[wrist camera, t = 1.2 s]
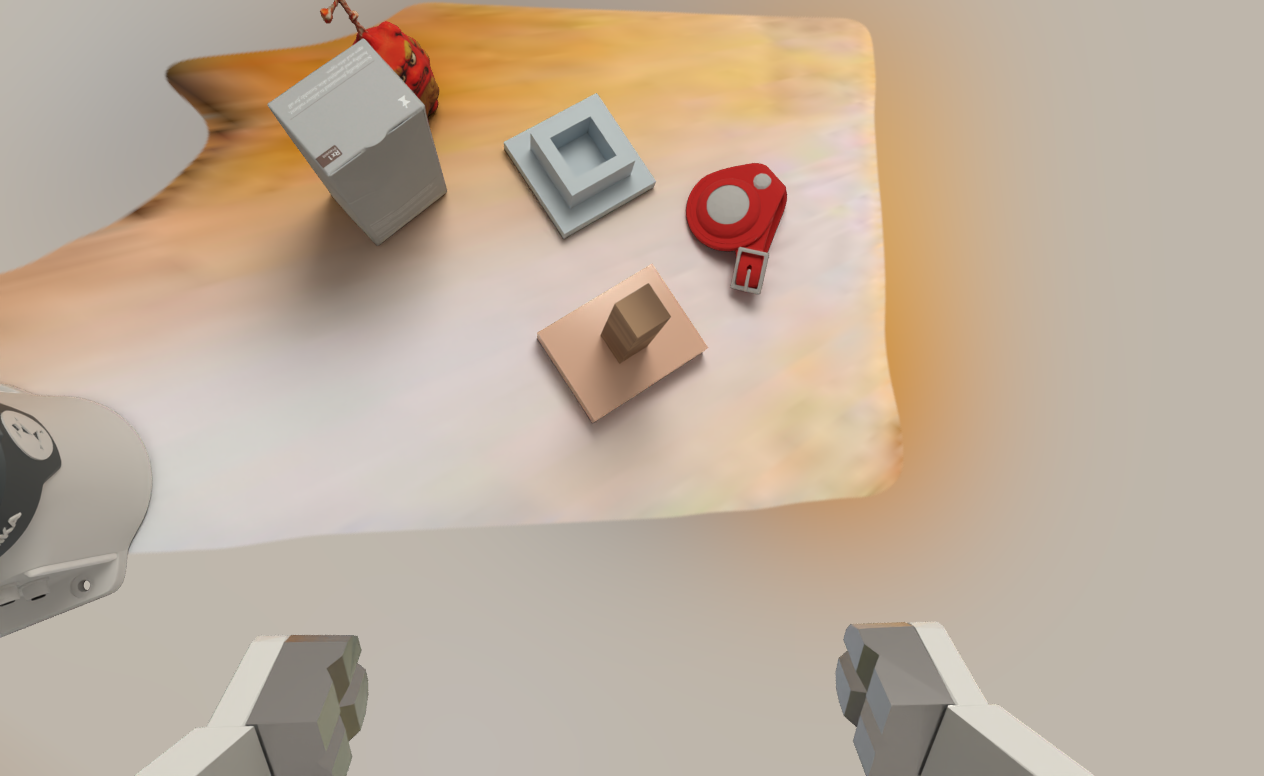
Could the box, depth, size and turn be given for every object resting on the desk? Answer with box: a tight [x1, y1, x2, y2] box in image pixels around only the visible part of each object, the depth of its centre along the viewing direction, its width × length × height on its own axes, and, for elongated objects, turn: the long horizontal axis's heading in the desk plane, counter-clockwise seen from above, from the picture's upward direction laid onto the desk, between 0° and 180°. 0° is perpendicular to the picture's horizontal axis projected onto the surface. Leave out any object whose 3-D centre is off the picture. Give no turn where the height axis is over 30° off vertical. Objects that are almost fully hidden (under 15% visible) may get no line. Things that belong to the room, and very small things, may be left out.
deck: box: [537, 264, 708, 423], centre depth 61 cm, size 12×9×2 cm
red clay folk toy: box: [320, 0, 439, 123], centre depth 55 cm, size 8×7×15 cm
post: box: [601, 283, 671, 364], centre depth 55 cm, size 3×3×10 cm
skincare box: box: [268, 39, 447, 246], centre depth 53 cm, size 8×7×16 cm
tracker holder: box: [686, 163, 787, 294], centre depth 64 cm, size 12×4×10 cm
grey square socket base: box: [504, 93, 656, 238], centre depth 62 cm, size 10×10×4 cm
